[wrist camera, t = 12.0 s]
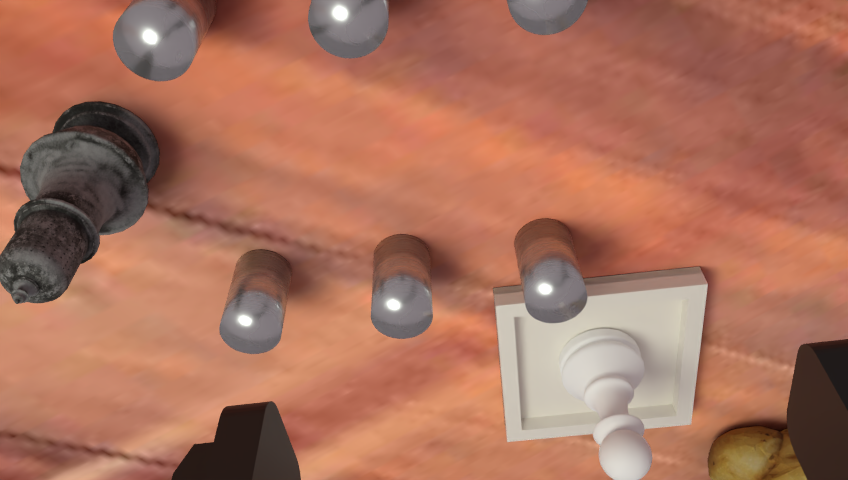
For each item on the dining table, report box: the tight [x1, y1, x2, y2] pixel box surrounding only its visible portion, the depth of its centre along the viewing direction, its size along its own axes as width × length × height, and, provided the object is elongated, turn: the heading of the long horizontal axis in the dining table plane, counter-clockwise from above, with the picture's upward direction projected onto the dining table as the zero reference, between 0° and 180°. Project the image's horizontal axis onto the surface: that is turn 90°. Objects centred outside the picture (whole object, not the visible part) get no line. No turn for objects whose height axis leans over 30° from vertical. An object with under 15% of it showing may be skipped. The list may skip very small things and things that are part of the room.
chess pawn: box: [559, 328, 652, 480], centre depth 46 cm, size 5×5×9 cm
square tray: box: [493, 266, 708, 442], centre depth 50 cm, size 12×12×2 cm
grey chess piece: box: [0, 102, 160, 304], centre depth 36 cm, size 6×6×12 cm
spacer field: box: [113, 0, 588, 354], centre depth 39 cm, size 19×19×5 cm
